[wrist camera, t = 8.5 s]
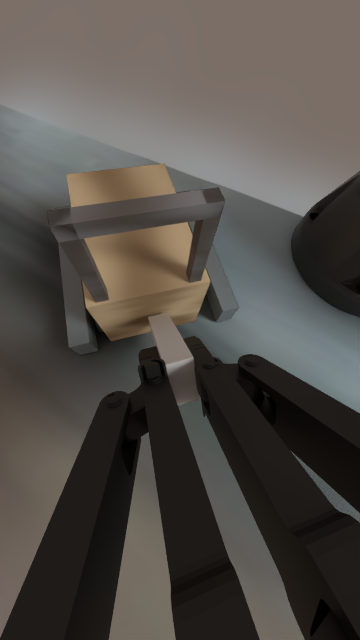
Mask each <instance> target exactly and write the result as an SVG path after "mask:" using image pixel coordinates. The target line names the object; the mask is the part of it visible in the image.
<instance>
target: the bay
mask: <svg viewBox="0 0 360 640" xmlns="http://www.w3.org/2000/svg"><path fill="white" fill-rule="evenodd" d="M184 192H188V191H184ZM176 193H181V192H176ZM69 207H71V206H68V207H60V208H55V209H62V208H69ZM188 225H189V227H190V230H191V233H192V235H193V231H194V225H195V221H191V222H188ZM58 246H59V256H60V266H61V276H62V285H63V295H64V305H65V315H66V325H67V335H68V345H69V348H70V349H72V350H73V351H75V352H76V353H78V354H79V355H83V354H87V353H91V352H95V351H98V346H97V340H96V333H95V326H94V320H93V316H92V315H91V314H90V312H89V311H88V310H87V308H86V304H85V297H84V290H83V283H82V280H81V278H80V276H79V275H78V273H77V272H76V270H75V268H74V267H73V265H72V263H71V262H70V260H69V259H68V257H67V255H66V254H65V252H64V251H63V249H62V247H61V246H60V244H59V242H58ZM205 269H206V271H207V274H208V276H209V279H210V284H209V287H208V289H207V292H206V296H207V298H208V301H209V304H210V307H211V309H212V312H213V315H214V318H215V320H216V322H219V321H223V320H227V319H231V318H232V316H233V315H234V314H235V312H236V311H237V310H238V308H239V306H238V304H237V301H236V299H235V297H234V294H233V292H232V289H231V287H230V285H229V282H228V280H227V277H226V275H225V273H224V270H223V268H222V265H221V263H220V260H219V258H218V256H217V253H216V251H215V248H214V246H213V244H212V246H211V249H210V253H209V256H208V259H207V263H206V266H205Z"/></svg>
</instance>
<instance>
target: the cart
mask: <svg viewBox="0 0 360 640" xmlns="http://www.w3.org/2000/svg"><path fill="white" fill-rule="evenodd" d="M66 175H67V182H68V188H69V195H70V202H71V207H69V208H62V209H54V210H47V213H48V224H49V228H50V230H51V231H52V233H53V234H54V236H55V238H56V239H57V241H58V242H59V244H60V246H61V247H62V249H63V251H64V252H65V254H66V255H67V257H68V259H69V260H70V262H71V263H72V265H73V267H74V268H75V270H76V272H77V273H78V275H79V276H80V278H81V280H82V283H83V290H84V297H85V304H86V308H87V310H88V311H89V312H90V314H91V315H92V316H93V318H94V320H95V324H96V327H97V329H98V331H99V332H104V333H105V334H106V335H107V337H108V338H109V339H110V341H115V340H119V339H123V338H127V337H131V336H135V335H139V334H143V333H147V332H151V328H150V324H149V319H148V317H150V316H154V315H158V314H163V313H167V312H168V314H169V316H170V318H171V319H172V321H173V323H174V325H175V326H176V325H180V324H184V323H189V322H193V321H196V318H197V316H198V313H199V310H200V309H201V308H202V302H203V300H204V297H205V294H206V292H207V289H208V287H209V284H210V279H209V276H208V274H207V271H206V269H205V266H206V263H207V259H208V256H209V253H210V249H211V246H212V243H213V239H214V236H215V233H216V230H217V226H218V223H219V220H220V216H221V213H222V210H223V206H224V203H225V199H224V197H223V195H222V193H221V191H220V189H219V187H218V188H211V189H203V190H196V191H188V192H181V193H176V191H175V189H174V186H173V184H172V181H171V179H170V176H169V173H168V171H167V168H166V166H165V164H157V165H148V166H139V167H130V168H120V169H111V170H102V171H93V172H84V173H74V174H66ZM191 221H195V225H194V231H193V235H192V233H191V230H190V227H189V225H188V222H191Z"/></svg>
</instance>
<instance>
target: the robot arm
mask: <svg viewBox="0 0 360 640" xmlns="http://www.w3.org/2000/svg"><path fill="white" fill-rule="evenodd" d="M291 247H292V254H293V258H294V261H295V264H296V266H297V268H298V270H299V272H300V274H301V275H302V277H303V278H304V279H305V281H306V282H307V283H308V284H309V286H310V287H311V288H312V289H313V290H314V291H315V292H316V293H318V294H319V295H320V296H321V297H322V298H324V299H325V300H326V301H328V302H329V303H331V304H332V305H334V306H336V307H338V308H339V309H341V310H344V311H346V312H348V313H351V314H354V315H357V316H360V171H359V172H358V173H356V174H355V175H354V176H352V177H351V178H350V179H349V180H347V181H346V182H344V183H343V184H342V185H340V186H339V187H338V188H336V189H335V190H334V191H332V192H331V193H330V194H328V195H327V196H326V197H324V198H323V199H322V200H320V201H319V202H318V203H316V204H315V205H314V206H313V207H312V208H311V209H310V210H309V211H308V212H307V213H306V215H305V216H304V218H303V219H302V220H301V222H300V223H299V224H298V226H297V227H296V229H295V231H294V233H293V236H292V244H291ZM148 319H149V324H150V328H151V333H152V337H153V342H154V347H151V348H147V349H143V350H141V351H140V353H139V362H140V365H139V366H138V372H139V376H140V379H141V385H140V386H139V387H138V388H137V389H136V390H135V391H133V392H131V393H130V394H127V393H125V392H123V391H116V392H113V393H110V394H108V395H107V396H106V397H104V398H103V399H102V401H101V402H100V404H99V406H98V409H97V411H96V413H95V416H94V418H93V420H92V423H91V425H90V427H89V430H88V432H87V435H86V437H85V439H84V442H83V444H82V446H81V449H80V451H79V453H78V456H77V458H76V460H75V463H74V465H73V468H72V470H71V472H70V475H69V477H68V479H67V482H66V484H65V486H64V489H63V491H62V494H61V496H60V498H59V501H58V503H57V505H56V508H55V510H54V512H53V515H52V517H51V520H50V522H49V524H48V527H47V529H46V531H45V534H44V536H43V538H42V541H41V543H40V545H39V548H38V550H37V553H36V555H35V557H34V560H33V562H32V564H31V567H30V569H29V571H28V574H27V576H26V579H25V581H24V583H23V586H22V588H21V590H20V593H19V595H18V597H17V600H16V602H15V604H14V607H13V609H12V612H11V614H10V616H9V619H8V621H7V623H6V626H5V628H4V630H3V633H2V635H1V638H0V640H109V634H110V627H111V621H112V615H113V609H114V603H115V597H116V591H117V584H118V578H119V572H120V566H121V560H122V554H123V548H124V542H125V535H126V529H127V523H128V517H129V511H130V505H131V499H132V492H133V486H134V480H135V474H136V468H137V462H138V456H139V450H140V443H141V436H143V435H144V434H146V433H147V432H149V438H150V444H151V451H152V458H153V465H154V472H155V479H156V485H157V492H158V499H159V506H160V513H161V520H162V527H163V533H164V540H165V547H166V554H167V561H168V568H169V575H170V582H171V605H172V614H173V622H174V629H175V637H176V640H259V637H258V634H257V631H256V628H255V625H254V622H253V619H252V616H251V613H250V610H249V607H248V605H247V602H246V599H245V596H244V593H243V590H242V587H241V585H240V582H239V579H238V576H237V574H236V571H235V569H234V567H233V565H232V563H231V562H230V559H229V557H228V554H227V551H226V549H225V546H224V543H223V540H222V537H221V534H220V531H219V528H218V525H217V522H216V519H215V516H214V513H213V510H212V507H211V504H210V501H209V498H208V495H207V492H206V489H205V486H204V483H203V480H202V477H201V474H200V471H199V468H198V465H197V462H196V459H195V456H194V453H193V450H192V447H191V444H190V441H189V438H188V435H187V432H186V429H185V426H184V423H183V420H182V417H181V414H180V411H179V408H178V405H181V404H184V403H188V402H191V401H194V400H198V399H199V395H200V397H201V402H202V409H203V416H204V417H205V416H206V415H207V417H208V420H209V422H210V424H211V426H212V428H213V430H214V433H215V435H216V437H217V439H218V441H219V443H220V446H221V448H222V450H223V452H224V454H225V456H226V458H227V461H228V463H229V465H230V467H231V469H232V471H233V474H234V476H235V478H236V480H237V482H238V484H239V487H240V489H241V491H242V493H243V495H244V497H245V500H246V502H247V504H248V506H249V508H250V510H251V512H252V515H253V517H254V519H255V521H256V523H257V525H258V528H259V530H260V532H261V534H262V536H263V538H264V541H265V543H266V545H267V547H268V549H269V551H270V554H271V556H272V558H273V560H274V562H275V564H276V567H277V569H278V571H279V573H280V575H281V578H282V581H283V583H284V586H285V590H286V593H287V597H288V600H289V603H290V606H291V608H292V611H293V613H294V616H295V618H296V621H297V623H298V625H299V627H300V630H301V632H302V634H303V636H304V638H305V640H360V523H359V522H358V521H357V520H356V519H354V518H353V517H352V516H350V515H348V514H345V513H342V512H339V511H338V510H337V509H335V508H334V506H333V505H332V504H331V503H330V502H329V501H328V499H327V498H326V497H325V495H324V494H323V493H322V491H321V490H320V489H319V488H318V486H317V485H316V484H315V482H314V481H313V480H312V478H311V477H310V476H309V475H308V473H307V472H306V471H305V469H304V468H303V467H302V465H301V464H300V463H299V461H298V460H297V459H296V458H295V456H294V455H293V454H292V452H293V453H294V454H295V455H296V456H297V457H299V458H300V459H301V460H302V461H303V462H304V463H305V464H306V465H307V466H308V467H310V468H311V469H312V470H313V471H314V472H315V473H316V474H317V475H318V476H320V477H321V478H322V479H323V480H324V481H325V482H326V483H327V484H328V485H329V486H331V487H332V488H333V489H334V490H335V491H336V492H337V493H338V494H339V495H341V496H342V497H343V498H344V499H345V500H346V501H347V502H348V503H349V504H350V505H352V506H353V507H354V508H355V509H356V510H357V511H358V512H359V513H360V413H358V412H356V411H354V410H353V409H351V408H349V407H347V406H346V405H344V404H342V403H341V402H339V401H337V400H335V399H334V398H332V397H330V396H328V395H327V394H325V393H323V392H321V391H320V390H318V389H316V388H314V387H313V386H311V385H309V384H308V383H306V382H304V381H302V380H301V379H299V378H297V377H295V376H294V375H292V374H290V373H288V372H287V371H285V370H283V369H281V368H280V367H278V366H276V365H274V364H273V363H271V362H269V361H268V360H266V359H264V358H262V357H260V356H258V355H253V354H248V355H244V356H241V357H240V358H239V360H238V364H224V363H222V361H221V360H219V359H218V358H215V357H212V355H211V354H210V352H209V351H208V350H207V348H206V347H205V346H204V344H203V343H202V342H201V340H200V339H199V338H197V337H195V336H193V337H189V338H185V339H183V338H182V337H181V335H180V333H179V331H178V330H177V328H176V326H175V325H174V323H173V321H172V319H171V318H170V316H169V314H168V312H167V313H163V314H158V315H154V316H150V317H148ZM265 392H266V393H267V394H266V393H265ZM198 393H199V395H198ZM205 413H206V415H205ZM289 449H290V450H291V451H292V452H291V451H290V450H289Z"/></svg>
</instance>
